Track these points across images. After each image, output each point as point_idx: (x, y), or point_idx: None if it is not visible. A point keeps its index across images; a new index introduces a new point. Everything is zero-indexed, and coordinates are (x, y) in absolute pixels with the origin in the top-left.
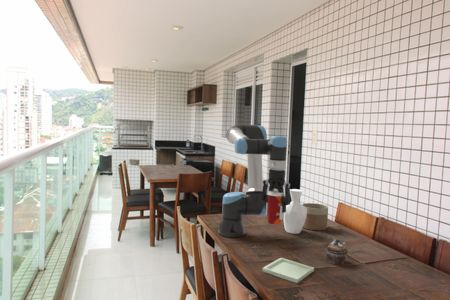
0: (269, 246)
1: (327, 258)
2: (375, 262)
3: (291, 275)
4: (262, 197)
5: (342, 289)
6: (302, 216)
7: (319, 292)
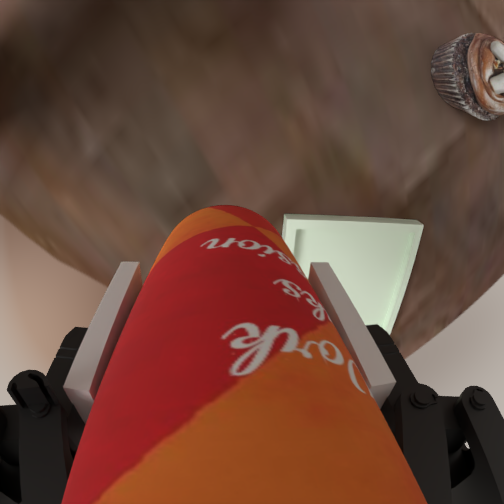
0: (141, 74)
1: (444, 94)
2: None
3: (365, 311)
4: (16, 478)
5: (476, 278)
6: None
7: (433, 327)
